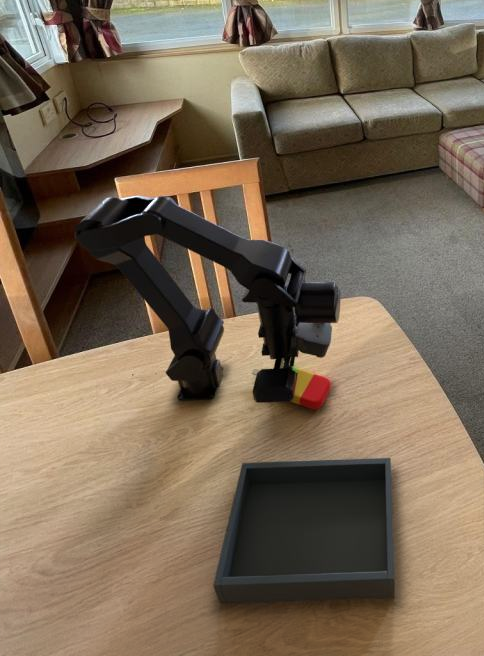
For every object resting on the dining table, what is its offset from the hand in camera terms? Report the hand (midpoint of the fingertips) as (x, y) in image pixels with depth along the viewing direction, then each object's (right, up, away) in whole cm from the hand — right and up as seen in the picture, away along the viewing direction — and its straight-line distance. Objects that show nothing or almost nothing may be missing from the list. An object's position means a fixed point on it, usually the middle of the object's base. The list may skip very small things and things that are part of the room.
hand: (288, 381), depth 86 cm
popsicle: (0, -1, +1) cm, 1 cm away
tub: (+8, -11, -20) cm, 24 cm away
